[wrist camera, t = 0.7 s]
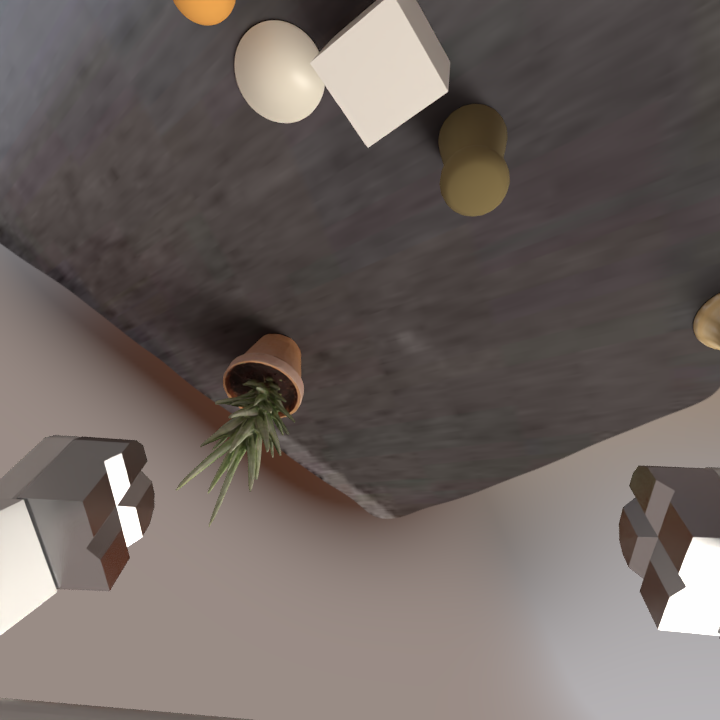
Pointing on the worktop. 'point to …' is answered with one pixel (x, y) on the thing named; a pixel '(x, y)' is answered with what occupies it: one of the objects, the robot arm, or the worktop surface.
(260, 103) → the cream domed disc
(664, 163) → the worktop surface
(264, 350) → the potted plant
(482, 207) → the cork
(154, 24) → the worktop surface
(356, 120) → the cream cube
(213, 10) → the ball
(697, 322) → the hand bell
